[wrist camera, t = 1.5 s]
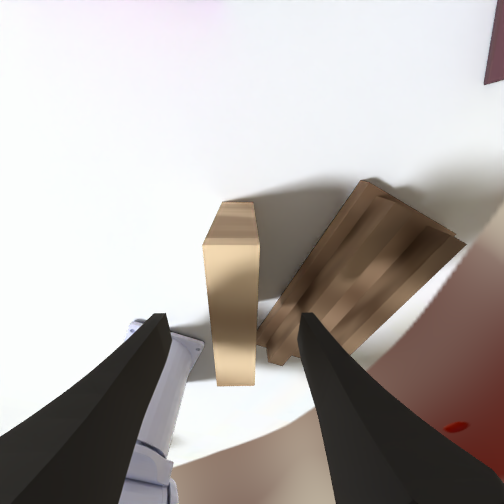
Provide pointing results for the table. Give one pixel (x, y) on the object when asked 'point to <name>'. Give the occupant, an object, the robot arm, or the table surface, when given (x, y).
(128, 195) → the table surface
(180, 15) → the table surface
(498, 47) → the picture frame
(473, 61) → the table surface
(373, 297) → the walnut ledge
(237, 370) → the oak frame
